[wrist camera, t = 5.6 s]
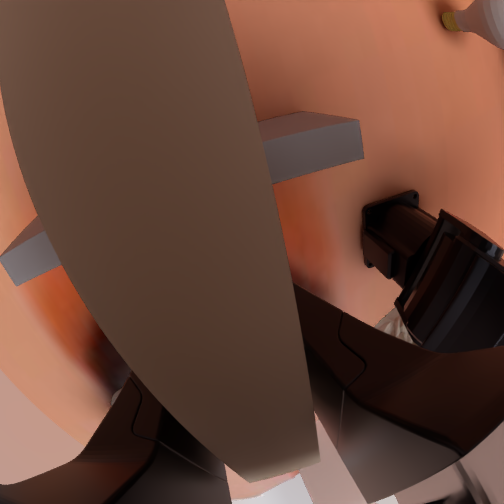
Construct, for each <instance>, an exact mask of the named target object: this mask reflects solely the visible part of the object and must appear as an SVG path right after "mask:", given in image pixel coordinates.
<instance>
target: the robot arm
mask: <svg viewBox="0 0 504 504" xmlns="http://www.w3.org/2000/svg"><path fill="white" fill-rule="evenodd" d="M413 196H414V197H413ZM418 204H419V194H418V192H417V191H415V190H411V191H408V192H405V193H402V194H399V195H396V196H393V197H390V198H387V199H385V200H382V201H379V202H376V203H373V204H370V205H367V206H365V207H364V208H363V255H364V263H365V265H366V266H367V267H368V268H371V267H374V266H375V267H376V268H377V269H378V270H379V271H380V272H381V273H382V274H383V275H384V276H385V277H386V278H387V279H391V278H392V279H393V280H394V281H395V282H396V283H397V284H398V285H399V286H400V287H401V288H402V289H403V290H402V292H401V294H400V295H399V297H397V299H396V300H395V302H394V305H395V307H396V309H397V311H398V313H399V315H400V317H401V319H402V321H403V323H404V325H405V327H406V329H407V331H408V333H409V335H410V337H411V339H412V341H413V342H414V343H415V344H417V345H418V346H417V345H414V344H412V343H409V342H407V341H404V340H402V339H399V338H397V337H395V336H392V335H390V334H387V333H385V332H383V331H381V330H379V329H376V328H374V327H372V326H370V325H368V324H366V323H364V322H362V321H360V320H358V319H356V318H355V317H353V316H351V315H349V314H348V313H346V312H343V311H342V310H340V309H339V308H337V307H335V306H333V305H332V304H330V303H328V302H326V301H325V300H323V299H321V298H320V297H318V296H316V295H314V294H313V293H311V292H309V291H307V290H306V289H304V288H302V287H300V286H299V285H297V284H295V283H294V282H292V283H293V289H294V294H295V299H296V305H297V310H298V316H299V321H300V327H301V333H302V339H303V345H304V350H305V356H306V363H307V369H308V375H309V381H310V388H311V394H312V401H313V408H314V411H315V413H316V415H317V416H318V418H319V420H320V422H321V424H322V425H323V427H324V429H325V431H326V433H327V434H328V436H329V438H330V440H331V441H332V443H333V445H334V447H335V448H336V450H337V452H338V454H339V456H340V457H341V459H342V461H343V463H344V464H345V466H346V468H347V470H348V471H349V473H350V475H351V476H352V478H353V480H354V482H355V483H356V485H357V487H358V488H359V490H360V492H361V494H362V495H363V497H364V499H365V500H366V502H367V504H371V503H373V502H376V501H379V500H381V499H384V498H386V497H389V496H391V495H393V494H394V495H395V497H396V499H397V501H398V503H399V504H504V260H503V259H502V258H501V257H502V255H503V253H504V249H503V248H501V247H500V246H499V245H498V244H497V243H496V242H494V241H493V240H492V239H491V238H490V237H488V236H487V235H486V234H485V233H483V232H482V231H480V230H479V229H477V228H475V227H474V226H472V225H471V224H469V223H468V222H466V221H464V220H462V219H460V218H458V217H457V216H455V215H453V214H451V213H449V212H447V211H445V210H443V209H441V210H440V213H439V218H438V219H436V218H435V217H433V216H432V215H430V214H428V213H427V212H425V211H424V210H422V209H420V208H419V207H418ZM368 210H369V213H367V212H368ZM129 376H130V377H128V378H127V380H126V382H125V384H124V386H123V387H122V389H121V391H120V393H119V395H118V396H117V398H116V400H115V402H114V403H113V405H112V406H111V408H110V410H109V411H108V413H107V414H106V416H105V417H104V419H103V420H102V422H101V424H100V425H99V427H98V428H97V430H96V431H95V433H94V434H93V436H92V437H91V439H90V441H89V442H88V444H87V445H86V447H85V448H84V450H83V451H82V452H81V453H80V454H79V455H78V456H77V457H76V458H75V459H73V460H72V461H70V462H68V463H66V464H64V465H62V466H59V467H57V468H54V469H52V470H50V471H47V472H45V473H42V474H40V475H37V476H35V477H32V478H30V479H27V480H24V481H22V482H18V483H15V484H9V485H2V484H0V504H232V502H231V497H230V492H229V486H228V483H227V476H226V471H225V465H224V463H223V462H222V461H221V460H220V459H219V458H217V457H216V456H215V455H214V454H213V453H212V452H210V451H209V450H208V449H207V448H206V447H205V446H204V445H203V444H201V443H200V442H199V441H198V440H197V439H196V438H195V437H194V436H193V435H192V434H191V433H190V432H189V431H188V430H187V429H186V428H184V427H183V426H182V425H181V424H180V423H179V422H178V421H177V420H176V419H175V418H174V417H173V415H172V414H171V413H170V412H169V411H168V410H167V409H166V408H165V407H164V406H163V405H162V404H161V403H160V402H159V401H158V400H157V398H156V397H155V396H154V395H153V394H152V393H151V392H150V391H149V389H148V388H147V387H146V386H145V385H144V384H143V382H142V381H141V380H140V379H139V378H138V377H137V375H136V374H135V373H134V372H133V370H132V371H131V373H130V375H129Z"/></svg>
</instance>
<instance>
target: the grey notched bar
mask: <svg viewBox="0 0 504 504" xmlns="http://www.w3.org/2000/svg"><path fill="white" fill-rule="evenodd" d="M258 126H259V130H260V135H261V139H262V143H263V147H264V151H265V156H266V160H267V164H268V169H269V173H270V177H271V182H272V184H275V183H279V182H282V181H285V180H288V179H292V178H295V177H298V176H302V175H305V174H309V173H312V172H316V171H319V170H323V169H326V168H330V167H334V166H337V165H341V164H345V163H349V162H352V161H356V160H360V159H364V152H363V144H362V137H361V130H360V123H359V120H356V119H351V118H345V117H339V116H333V115H326V114H319V113H312V112H304V111H302V112H297V113H293V114H288V115H284V116H280V117H275V118H271V119H267V120H263V121H260V122H258ZM0 262H1V263H2V265H3V267H4V268H5V270H6V271H7V273H8V274H9V276H10V278H11V279H12V281H13V282H14V284H15V285H16V287H17V286H19V285H21V284H22V283H24V282H27V281H29V280H31V279H33V278H35V277H37V276H39V275H41V274H43V273H45V272H47V271H49V270H51V269H53V268H56V267H58V266H60V265H62V264H61V262H60V260H59V258H58V256H57V254H56V252H55V250H54V248H53V246H52V244H51V242H50V240H49V238H48V236H47V234H46V232H45V230H44V227H43V225H42V223H41V221H40V218H39V216H37V217H36V218H35V219H34V220H33V221H32V222H31V223H30V224H29V225H28V226H27V227H26V228H25V229H24V230H23V231H22V232H21V233H20V234H19V235H18V236H17V238H16V239H15V240H14V241H13V242H12V243H11V244H10V245H9V246H8V248H7V249H6V250H5V251H4V252H3V253H2V254H1V256H0Z"/></svg>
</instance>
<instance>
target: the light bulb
mask: <svg viewBox="0 0 504 504" xmlns="http://www.w3.org/2000/svg"><path fill="white" fill-rule="evenodd" d="M442 21H443V23H444V25H445V27H446V28H447V29H448V30H450V31H463V32H473V33H476V34H477V35H479V36H481V37H482V38H484V39H485V40H487V41H488V42H490V43H491V44H493V45H495V46H496V47H498V48H501V49H503V50H504V0H474V1H473V3H472V4H471V5H470V6H469V7H468V8H467V9H466V10H463V11H455V12H444V13H443V14H442Z"/></svg>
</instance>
